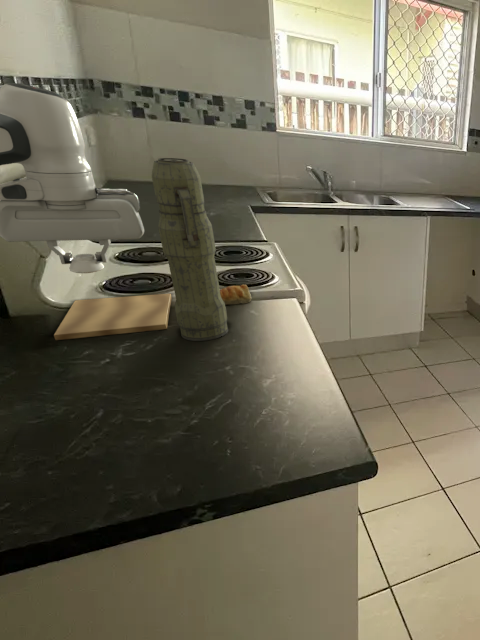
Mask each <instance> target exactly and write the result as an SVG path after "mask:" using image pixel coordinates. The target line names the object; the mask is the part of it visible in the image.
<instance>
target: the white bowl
mask: <svg viewBox="0 0 480 640" xmlns="http://www.w3.org/2000/svg"><path fill="white" fill-rule="evenodd" d="M72 258H73V260H72V263H71V264H69V266H68V268H69V271H70V272H72V273H75V274H93V273H97V272H99V271H101V270H104V268H105V265H104V263H98V262H97V261H96V260H97V258H96V257H95V254H93V253H79V254H75V255H72Z"/></svg>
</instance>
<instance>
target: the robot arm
mask: <svg viewBox="0 0 480 640" xmlns="http://www.w3.org/2000/svg"><path fill="white" fill-rule="evenodd" d="M85 153H86V143H85V138H84V136H83V131H82V129H81V125H80V121H79V119H78V117H77V114H76V111H75V110H74V108H73V106H72V104H71V103H70V102H69V100H68V99H66V98H65V97H64V96H63V95H61V94H59V93H58V92H56V91H53V90H49V89H47V88H43V87H37V86H34V85H30V84H29V85H28V84H23V83H18V82H8V83H4V84H3V86H1V87H0V166H5V165H12V164H20V165H21V166H22V167H23V170H24V173H25V177H18V178H15V179H13V180H9V181H5V182H3V183H0V238H1V239H3V240H5V241H6V242H9V243H14V242H16V243H18V242H46V245H47V247H48V249H50V250H51V251H52V252H53V253H55V254H56V255H57V256H58V257H59V260H60V263H61V265H70V264H71V263H72V260H73V253H72V252H65V250H64V249H63V248H62V247H61V246H60V245H61V243H62V242H63V241H64V242H65V241H98V243H99V245H100V246H102V248H101V251H96V252H95V253H94V256H95V258H97V260H96V261H97V262H98V263H102V264H104V263H108V262H109V258H108V254H107V252H108V250H109V248H110V245H111V243H112V240H140V238H142V237H143V236H144V234H145V226H144V224H143V220H142V218H141V215H140V213H139V212H140V210H141V204H140V199H139V197H138V195H137V194H135V193H134V192H132V191H130V190H128V189H127V188H107V187H97V186H96V182H95V178H94V174H93V171H92V167H91V166H90V164H89V163H88V160H87V158H86V154H85Z"/></svg>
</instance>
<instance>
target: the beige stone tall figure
mask: <svg viewBox="0 0 480 640" xmlns="http://www.w3.org/2000/svg"><path fill="white" fill-rule="evenodd" d="M151 180H152V185H153V189H154V190H153V191H154V195H155V200H156V204H158V207H159V210H158V214H159V221H158V224H157V225H158V226H157V228H158V232H159V238H160V242H161V243H160V244H161V247H162V252H163V253H162V254H163V255H164V256H165V257H166V258H167V262H168V267H169V273H170V278H171V282H172V287H173V292H174V297H175V302H174V313H175V317H176V322H177V326H178V327H179V329H180V336H181V337H182V339H184V340H186V341H192V342H205V341H211V340H215V339H218V338H221V336H222V337H224V336H225V335H227V334H228V333H229V326H228V313H227V308H226V305H225V303H224V301H223V300H222V298H221V295H220V290H221V289H220V284H219V277H218V271H217V266H216V265H217V264H216V258H215V255H216V252H217V249H216V242H215V237H214V236H215V235H214V231H213V230H214V229H213V224H212V222H211V221H210V220H209V217H208V216H207V210H206V209H205V197H204V191H203V186H202V185H203V184H202V179H201V175H200V173H199V171H198V169H197V167H196V166H195V163H194V162H193V161H189V159H186V158H178V157H175V158H174V157H160V158H158V159H157V160H153V165H152V171H151Z"/></svg>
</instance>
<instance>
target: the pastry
mask: <svg viewBox="0 0 480 640" xmlns="http://www.w3.org/2000/svg"><path fill="white" fill-rule="evenodd" d="M220 295H221V298H222V300H223V301H224V303H225V306H228V305H240V304H241V305H242V304H243V305H244V304H248V303H250V302H251V301H252V294H251V292H250V289H249V287H248V285H247V284H241V285H229V286H226V287H223V288H221V289H220Z"/></svg>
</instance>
